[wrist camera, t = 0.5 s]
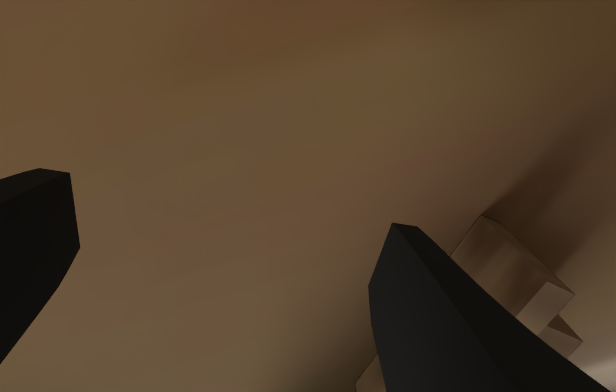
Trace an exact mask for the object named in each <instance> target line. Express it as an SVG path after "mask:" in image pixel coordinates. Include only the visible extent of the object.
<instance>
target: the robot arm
mask: <svg viewBox="0 0 616 392" xmlns="http://www.w3.org/2000/svg"><path fill="white" fill-rule="evenodd" d="M79 249H80V242H79V235H78V228H77V221H76V214H75V206H74V199H73V192H72V185H71V178H70V173H68V172H61V171H55V170H48V169H42V168H38V169H34V170H30V171H26V172H22V173H19V174H16V175H12V176H9V177H6V178H3V179H0V364H1V363H2V361H3V360H4V359H5V357H6V356H7V355H8V353H9V352H10V351H11V349H12V348H13V347H14V346H15V344H16V343H17V342H18V340H19V339H20V338H21V336H22V335H23V334H24V332H25V331H26V330H27V328H28V327H29V326H30V324H31V323H32V322H33V321H34V319H35V318H36V317H37V315H38V314H39V312H40V311H41V310H42V308H43V307H44V306H45V304H46V303H47V302H48V300H49V299H50V298H51V296H52V295H53V294H54V292H55V291H56V289H57V288H58V287H59V285H60V283H61V282H62V280H63V278H64V276H65V275H66V273H67V271H68V269H69V268H70V266H71V264H72V262H73V260H74V258H75V256H76V254H77V253H78V251H79ZM368 289H369V303H370V314H371V323H372V329H373V334H374V338H375V343H376V348H377V352H378V357H379V361H380V366H381V370H382V374H383V379H384V383H385V388H386V392H611V391H609V390H608V389H607V388H605V387H604V386H602V385H601V384H600V383H598V382H597V381H595V380H594V379H593V378H591V377H590V376H588V375H587V374H586V373H584V372H583V371H582V370H580V369H579V368H578V367H576V366H575V365H574V364H573V363H571V362H570V361H569V360H567V359H566V358H565V357H563V356H562V355H561V354H560V353H558V352H557V351H556V350H554V349H553V348H552V347H550V346H549V345H548V344H547V343H545V342H544V341H543V340H542V339H540V338H539V337H538V336H537V335H535V334H534V333H533V332H532V331H531V330H529V329H528V328H527V327H526V326H525V325H524V324H522V323H521V322H520V321H519V320H518V319H517V318H515V317H514V316H513V315H512V314H511V313H510V312H508V311H507V310H506V309H505V308H504V307H503V306H502V305H500V304H499V303H498V302H497V301H496V300H495V299H494V298H493V297H492V296H491V295H489V294H488V293H487V292H486V291H485V290H484V289H483V288H482V287H481V286H480V285H479V284H478V283H477V282H475V281H474V280H473V279H472V278H471V277H470V276H469V275H468V274H467V273H466V272H465V271H464V270H463V269H462V268H461V267H460V266H459V265H458V264H457V263H456V262H455V261H454V260H453V259H452V258H450V257H449V256H448V255H447V254H446V253H445V252H444V251H443V250H442V249H441V248H440V247H439V246H438V245H437V244H436V243H435V242H434V241H433V240H432V239H431V238H430V237H428V236H427V235H426V234H425V233H424V232H423V231H422V230H420V229H419V228H418V227H417V226H410V225H404V224H397V223H392V224H391V227H390V230H389V232H388V235H387V238H386V240H385V243H384V246H383V248H382V251H381V254H380V256H379V259H378V261H377V264H376V267H375V269H374V272H373V275H372V277H371V280H370V283H369V285H368Z"/></svg>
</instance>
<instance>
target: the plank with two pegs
mask: <svg viewBox="0 0 616 392" xmlns="http://www.w3.org/2000/svg"><path fill="white" fill-rule="evenodd" d="M450 258H452V259H453V260H454V261H455V262H456V263H457V264H458V265H459V266H460V267H461V268H462V269H463V270H464V271H465V272H466V273H467V274H468V275H469V276H470V277H471V278H472V279H473V280H474V281H475V282H477V283H478V284H479V285H480V286H481V287H482V288H483V289H484V290H485V291H486V292H487V293H488V294H489V295H491V296H492V297H493V298H494V299H495V300H496V301H497V302H498V303H499V304H500V305H502V306H503V307H504V308H505V309H506V310H507V311H508V312H510V313H511V314H512V315H513V316H514V317H515V318H517V319H518V320H519V321H520V322H521V323H522V324H524V325H525V326H526V327H527V328H528V329H529V330H531V331H532V332H533V333H534V334H535V335H537V336H538V337H539V338H540V339H542V340H543V341H544V342H545V343H547V344H548V345H549V346H550V347H552V348H553V349H554V350H556V351H557V352H558V353H560V354H561V355H562V356H563V357H565V358H566V359H567V358H568V357H569V356H570V355H571V354H572V353H573V352H574V351H575V350H576V349H577V348H578V347H579V346H580V345H581V344H582V343H583V341H582V340H581V339H580V338H579V336H578V335H577V334H576V333H575V332H574V331H573V330H572V329H571V328H570V327H569V326H568V325H567V323H566V322H565V321H564V320H563V319H562V318H561V317H560V316H559V315H558V313H559V312H560V311H561V310H562V309H563V307H564V306H565V305H566V304H567V303H568V302H569V301H570V300H571V299H572V298H573V297H574V296H575V294H574V293H573V292H572V291H571V290H570V289H569V288H568V287H567V286H566V285H565V284H564V283H563V282H562V281H561V280H559V279H558V278H557V277H556V276H555V275H554V274H553V273H552V272H551V271H550V270H549V269H548V268H547V267H546V266H545V265H544V264H543V263H542V262H541V261H539V260H538V259H537V258H536V257H535V256H534V255H533V254H532V253H531V252H530V251H529V250H528V249H527V248H526V247H525V246H524V245H523V244H522V243H521V242H519V241H518V240H517V239H516V238H515V237H514V236H513V235H512V234H511V233H510V232H509V231H508V230H507V229H506V228H505V227H504V226H503V225H501V224H498V223H496V222H494V221H492V220H490V219H488V218H486V217H484V216H482V215H480V217H479V218H478V219H477V221H476V222H475V223H474V225H473V226H472V227H471V229H470V230H469V231H468V233H467V234H466V235H465V237H464V238H463V239H462V241H461V242H460V243H459V245H458V246H457V247H456V249H455V250H454V251H453V253H452V254H451V256H450ZM355 386H356V392H386V388H385V383H384V379H383V374H382V370H381V366H380V361H379V357H378V354H377V355H376V356H375V358H374V359H373V360H372V362H371V363H370V364H369V366H368V367H367V368H366V370H365V371H364V372H363V374H362V375H361V376H360V378H359V379H358V380H357V382H356V383H355Z"/></svg>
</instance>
